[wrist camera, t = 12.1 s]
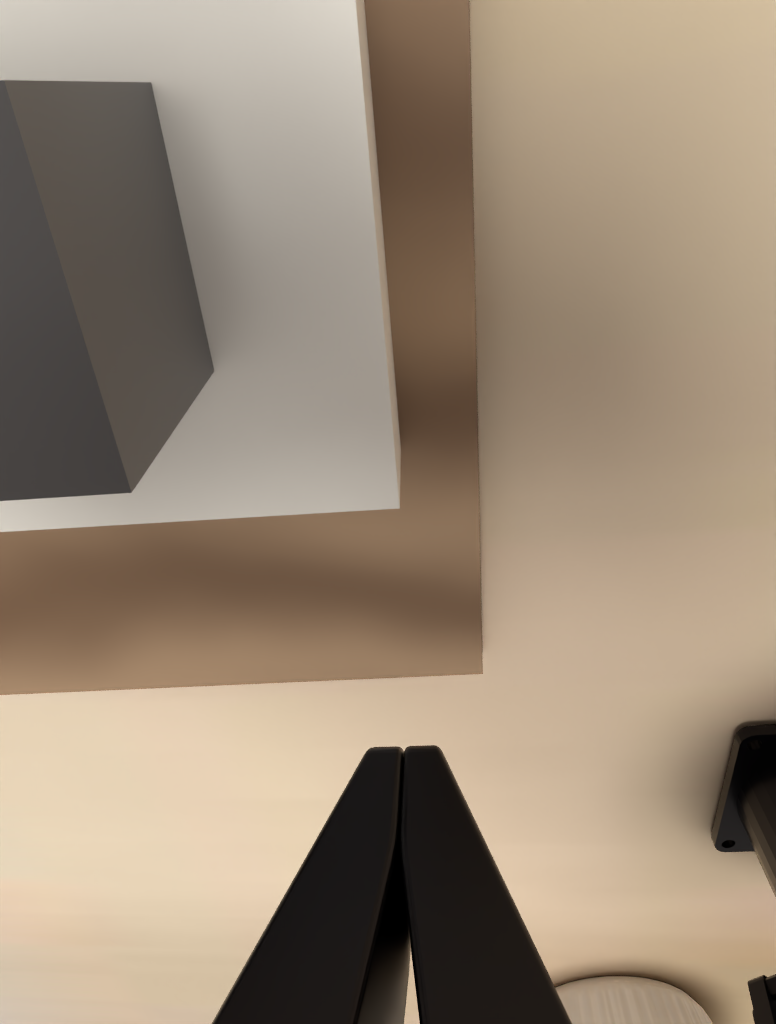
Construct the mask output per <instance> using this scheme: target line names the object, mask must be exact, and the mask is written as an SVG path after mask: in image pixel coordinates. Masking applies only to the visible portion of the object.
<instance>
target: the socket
mask: <svg viewBox="0 0 776 1024" xmlns="http://www.w3.org/2000/svg"><path fill="white" fill-rule="evenodd" d="M0 80H28V81H95V82H151V84H152V88H153V93H154V97H155V102H156V106H157V111H158V116H159V120H160V125H161V129H162V134H163V138H164V143H165V148H166V152H167V157H168V161H169V166H170V170H171V175H172V180H173V184H174V189H175V193H176V198H177V202H178V207H179V212H180V216H181V221H182V225H183V230H184V234H185V239H186V244H187V248H188V253H189V257H190V262H191V266H192V271H193V276H194V280H195V285H196V289H197V294H198V298H199V303H200V308H201V312H202V317H203V321H204V326H205V330H206V335H207V340H208V344H209V349H210V353H211V358H212V362H213V367H214V372H213V374H212V375H211V377H210V378H209V380H208V381H207V383H206V384H205V386H204V387H203V389H202V390H201V392H200V393H199V394H198V396H197V397H196V399H195V400H194V402H193V403H192V405H191V406H190V408H189V409H188V411H187V412H186V414H185V415H184V417H183V418H182V419H181V421H180V422H179V424H178V425H177V427H176V428H175V430H174V431H173V433H172V434H171V436H170V437H169V439H168V440H167V442H166V443H165V444H164V446H163V447H162V449H161V450H160V452H159V453H158V455H157V456H156V458H155V459H154V461H153V462H152V464H151V465H150V467H149V468H148V469H147V471H146V472H145V474H144V475H143V477H142V478H141V480H140V481H139V483H138V484H137V486H136V487H135V489H134V490H133V492H132V493H121V494H105V495H89V496H73V497H57V498H42V499H26V500H10V501H0V532H11V531H28V530H44V529H61V528H78V527H95V526H112V525H129V524H146V523H163V522H180V521H197V520H214V519H231V518H248V517H265V516H281V515H298V514H315V513H332V512H349V511H366V510H383V509H400V467H401V445H400V433H399V421H398V409H397V396H396V384H395V372H394V360H393V347H392V335H391V323H390V311H389V299H388V286H387V274H386V262H385V250H384V237H383V225H382V213H381V201H380V188H379V176H378V164H377V152H376V139H375V127H374V115H373V103H372V90H371V78H370V66H369V54H368V41H367V29H366V17H365V5H364V0H0Z"/></svg>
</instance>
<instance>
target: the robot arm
mask: <svg viewBox="0 0 776 1024" xmlns="http://www.w3.org/2000/svg"><path fill="white" fill-rule="evenodd" d="M711 838H712V841H713V843H714V846H715V848H716V849H717V850H719V851H721V852H745V851H755V853H756V855H757V857H758V859H759V861H760V864H761V866H762V868H763V870H764V872H765V875H766V877H767V879H768V881H769V883H770V886H771V888H772V890H773V892H774V894H775V897H776V725H763V726H749V727H745V728H743V729H741V730H740V731H738V732H737V734H736V735H735V738H734V742H733V746H732V751H731V755H730V759H729V763H728V767H727V771H726V776H725V780H724V784H723V788H722V792H721V796H720V800H719V805H718V809H717V813H716V817H715V821H714V825H713V830H712V834H711ZM410 950H411V952H412V961H413V969H414V978H415V986H416V994H417V1003H418V1011H419V1020H420V1024H572V1022H571V1020H570V1018H569V1016H568V1014H567V1012H566V1010H565V1008H564V1006H563V1003H562V1001H561V999H560V997H559V995H558V993H557V991H556V989H555V987H554V985H553V983H552V980H551V978H550V976H549V974H548V972H547V970H546V968H545V966H544V964H543V962H542V960H541V957H540V955H539V953H538V951H537V949H536V947H535V945H534V943H533V941H532V939H531V936H530V934H529V932H528V930H527V928H526V926H525V924H524V922H523V920H522V918H521V916H520V913H519V911H518V909H517V907H516V905H515V903H514V901H513V899H512V897H511V895H510V893H509V890H508V888H507V886H506V884H505V882H504V880H503V878H502V876H501V874H500V872H499V869H498V867H497V865H496V863H495V861H494V859H493V857H492V855H491V853H490V851H489V849H488V846H487V844H486V842H485V840H484V838H483V836H482V834H481V832H480V830H479V828H478V825H477V823H476V821H475V819H474V817H473V815H472V813H471V811H470V809H469V807H468V805H467V802H466V800H465V798H464V796H463V794H462V792H461V790H460V788H459V786H458V784H457V782H456V779H455V777H454V775H453V773H452V771H451V769H450V767H449V765H448V763H447V761H446V758H445V756H444V754H443V752H442V751H441V749H440V748H439V747H437V746H434V745H433V746H410V747H407V748H406V749H405V751H403V749H402V748H400V747H373V748H370V749H369V750H368V751H367V752H366V753H365V755H364V756H363V758H362V760H361V762H360V763H359V765H358V767H357V769H356V770H355V772H354V774H353V776H352V777H351V779H350V781H349V783H348V784H347V786H346V788H345V790H344V791H343V793H342V795H341V797H340V799H339V800H338V802H337V804H336V806H335V807H334V809H333V811H332V813H331V814H330V816H329V818H328V820H327V821H326V823H325V825H324V827H323V828H322V830H321V832H320V834H319V835H318V837H317V839H316V841H315V843H314V844H313V846H312V848H311V850H310V851H309V853H308V855H307V857H306V858H305V860H304V862H303V864H302V865H301V867H300V869H299V871H298V872H297V874H296V876H295V878H294V880H293V881H292V883H291V885H290V887H289V888H288V890H287V892H286V894H285V895H284V897H283V899H282V901H281V902H280V904H279V906H278V908H277V909H276V911H275V913H274V915H273V916H272V918H271V920H270V922H269V924H268V925H267V927H266V929H265V931H264V932H263V934H262V936H261V938H260V939H259V941H258V943H257V945H256V946H255V948H254V950H253V952H252V953H251V955H250V957H249V959H248V960H247V962H246V964H245V966H244V968H243V969H242V971H241V973H240V975H239V976H238V978H237V980H236V982H235V983H234V985H233V987H232V989H231V990H230V992H229V994H228V996H227V997H226V999H225V1001H224V1003H223V1004H222V1006H221V1008H220V1010H219V1012H218V1013H217V1015H216V1017H215V1019H214V1020H213V1022H212V1024H404V1016H405V1006H406V996H407V986H408V976H409V964H410ZM748 987H749V991H750V996H751V1000H752V1005H753V1009H754V1010H753V1017H754V1022H755V1024H776V974H775V975H772V976H770V977H766V976H765V975H762V976H760V977H757V978H754V979H752V980H749V981H748Z"/></svg>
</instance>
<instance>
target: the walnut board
mask: <svg viewBox="0 0 776 1024" xmlns="http://www.w3.org/2000/svg"><path fill="white" fill-rule="evenodd" d="M364 5H365V17H366V29H367V41H368V54H369V66H370V78H371V90H372V103H373V115H374V127H375V139H376V152H377V164H378V176H379V188H380V201H381V213H382V225H383V237H384V250H385V262H386V274H387V286H388V299H389V311H390V323H391V335H392V347H393V360H394V372H395V384H396V396H397V409H398V421H399V433H400V445H401V467H400V509H383V510H366V511H349V512H332V513H315V514H298V515H281V516H265V517H248V518H231V519H214V520H197V521H180V522H163V523H146V524H129V525H112V526H95V527H78V528H61V529H44V530H28V531H11V532H0V695H10V694H33V693H56V692H79V691H101V690H124V689H147V688H170V687H192V686H215V685H238V684H261V683H283V682H306V681H329V680H352V679H374V678H397V677H420V676H443V675H465V674H483V665H482V615H481V564H480V513H479V463H478V412H477V362H476V311H475V261H474V210H473V160H472V109H471V59H470V8H469V0H364Z"/></svg>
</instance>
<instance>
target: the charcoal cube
mask: <svg viewBox="0 0 776 1024" xmlns="http://www.w3.org/2000/svg"><path fill="white" fill-rule="evenodd" d="M213 372H214V367H213V362H212V358H211V353H210V349H209V344H208V340H207V335H206V330H205V326H204V321H203V317H202V312H201V308H200V303H199V298H198V294H197V289H196V285H195V280H194V276H193V271H192V266H191V262H190V257H189V253H188V248H187V244H186V239H185V234H184V230H183V225H182V221H181V216H180V212H179V207H178V202H177V198H176V193H175V189H174V184H173V180H172V175H171V170H170V166H169V161H168V157H167V152H166V148H165V143H164V138H163V134H162V129H161V125H160V120H159V116H158V111H157V106H156V102H155V97H154V93H153V88H152V84H151V82H95V81H28V80H0V501H10V500H26V499H42V498H57V497H73V496H89V495H105V494H121V493H132V492H133V490H134V489H135V487H136V486H137V484H138V483H139V481H140V480H141V478H142V477H143V475H144V474H145V472H146V471H147V469H148V468H149V467H150V465H151V464H152V462H153V461H154V459H155V458H156V456H157V455H158V453H159V452H160V450H161V449H162V447H163V446H164V444H165V443H166V442H167V440H168V439H169V437H170V436H171V434H172V433H173V431H174V430H175V428H176V427H177V425H178V424H179V422H180V421H181V419H182V418H183V417H184V415H185V414H186V412H187V411H188V409H189V408H190V406H191V405H192V403H193V402H194V400H195V399H196V397H197V396H198V394H199V393H200V392H201V390H202V389H203V387H204V386H205V384H206V383H207V381H208V380H209V378H210V377H211V375H212V374H213Z"/></svg>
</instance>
